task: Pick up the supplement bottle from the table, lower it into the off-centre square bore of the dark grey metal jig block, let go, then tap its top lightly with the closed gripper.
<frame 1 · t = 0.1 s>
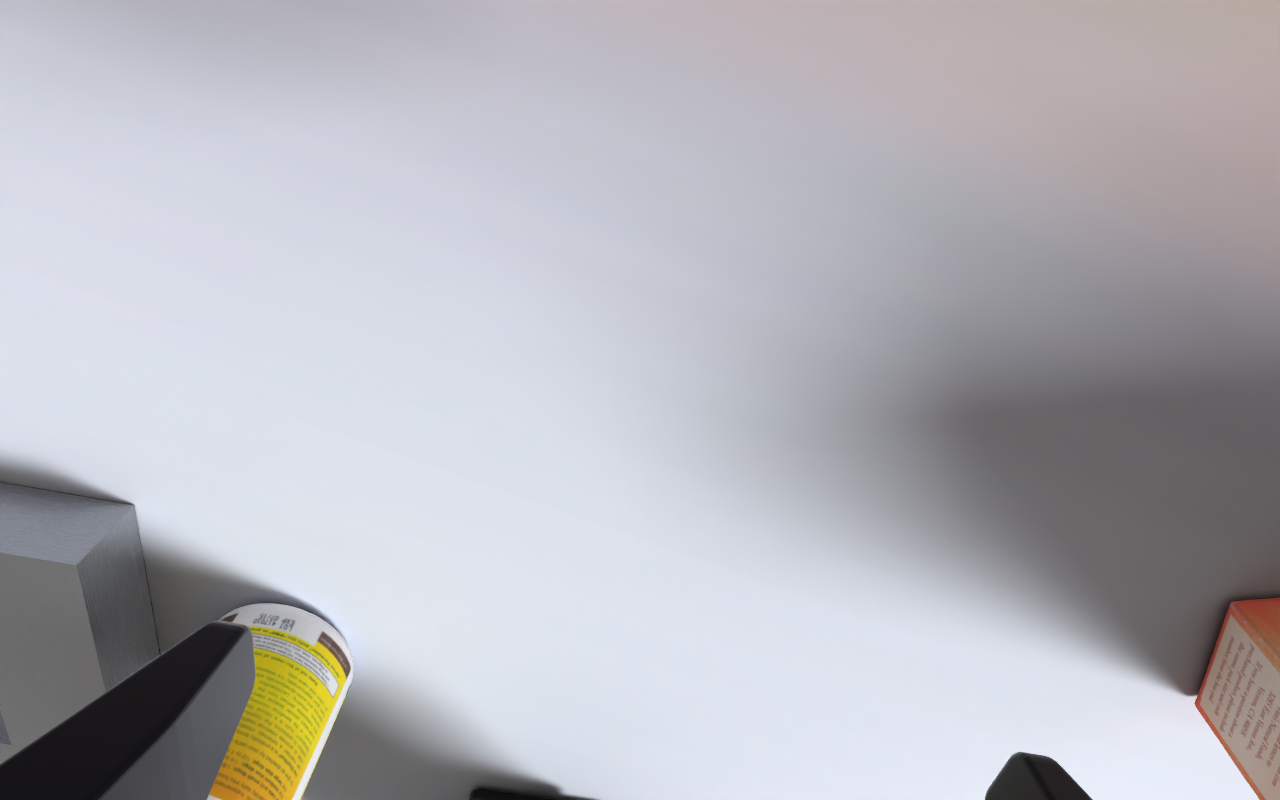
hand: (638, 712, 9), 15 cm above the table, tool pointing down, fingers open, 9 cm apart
supplement bottle: (289, 643, 30), on the table
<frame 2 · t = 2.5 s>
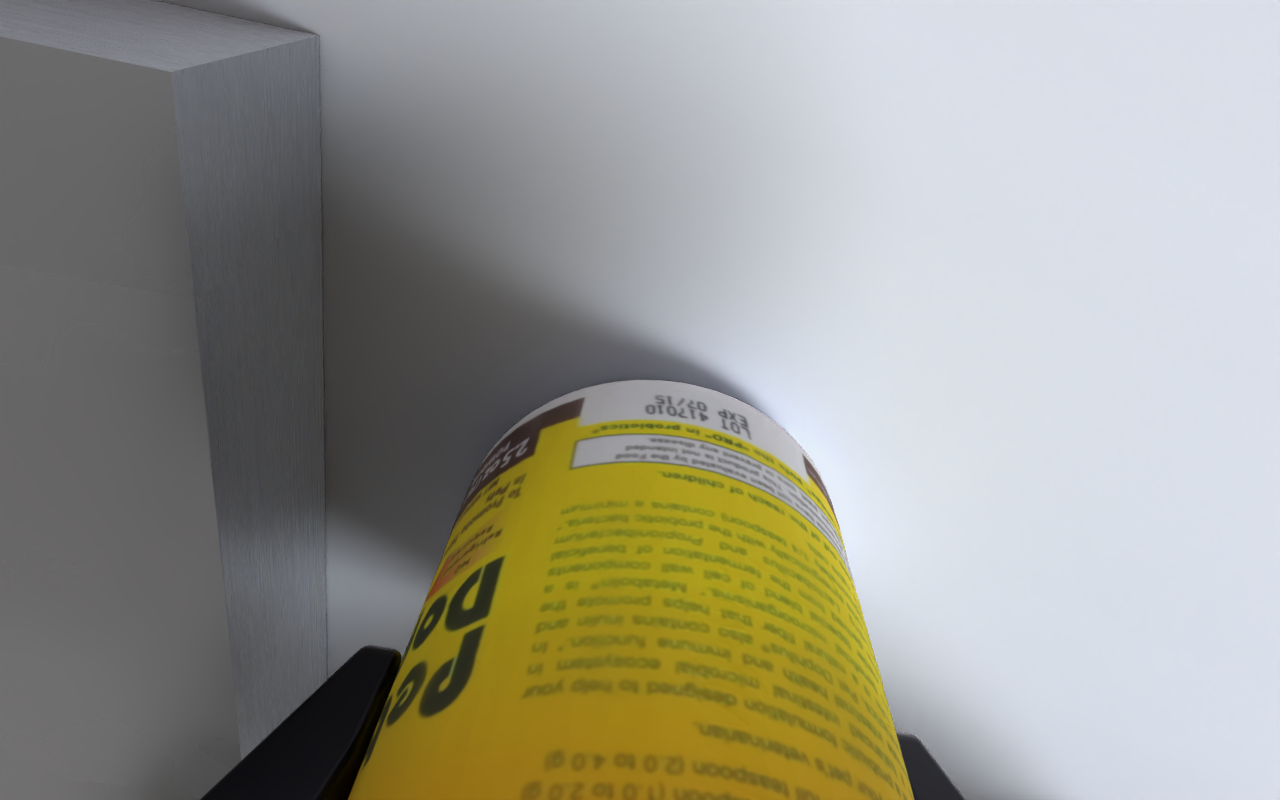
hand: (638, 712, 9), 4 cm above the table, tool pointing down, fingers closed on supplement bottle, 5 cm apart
supplement bottle: (648, 512, 12), on the table, touching gripper
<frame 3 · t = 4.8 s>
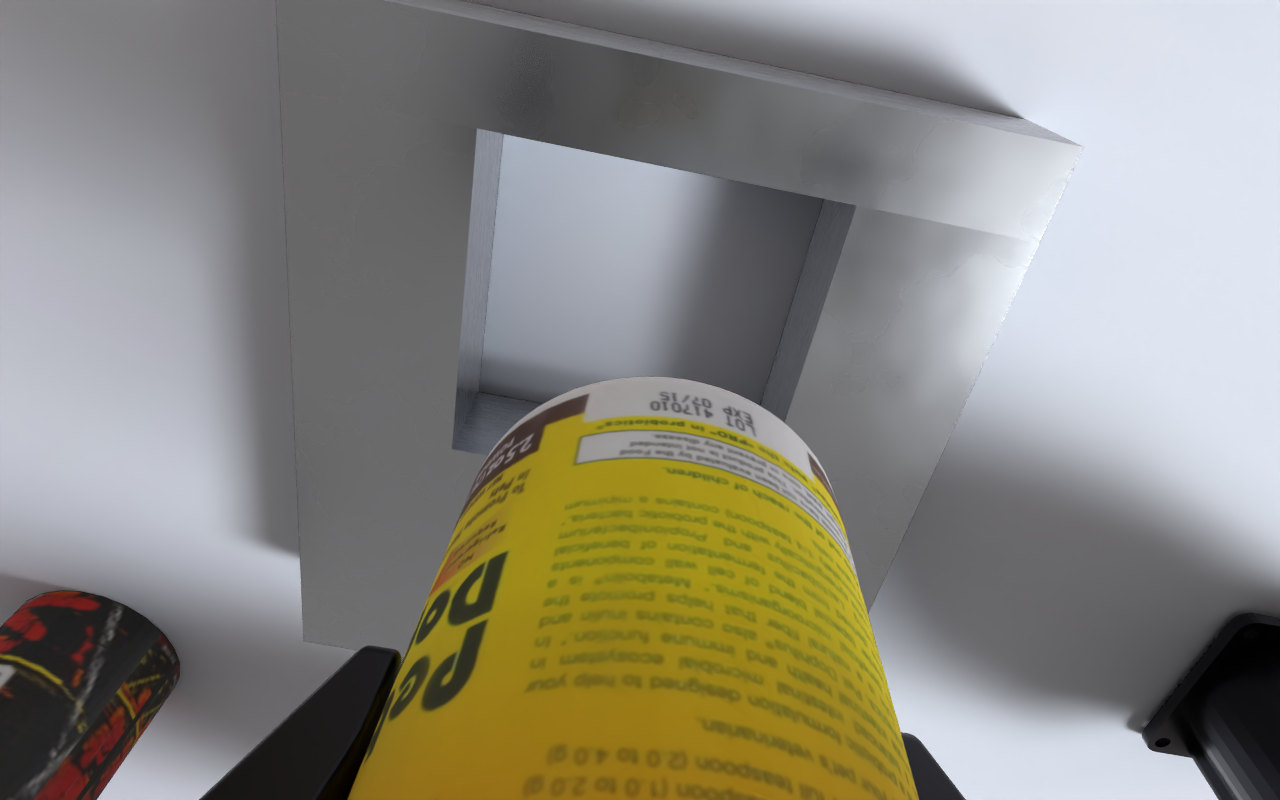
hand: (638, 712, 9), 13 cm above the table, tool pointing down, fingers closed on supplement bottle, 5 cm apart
supplement bottle: (652, 509, 12), point 10 cm above the table, touching gripper
deodorant: (101, 646, 29), on the table
jig block: (620, 387, 22), on the table
when the fingers open (4 cm above the table, at t = 7.3 s): supplement bottle stays where it is, resting in jig block.
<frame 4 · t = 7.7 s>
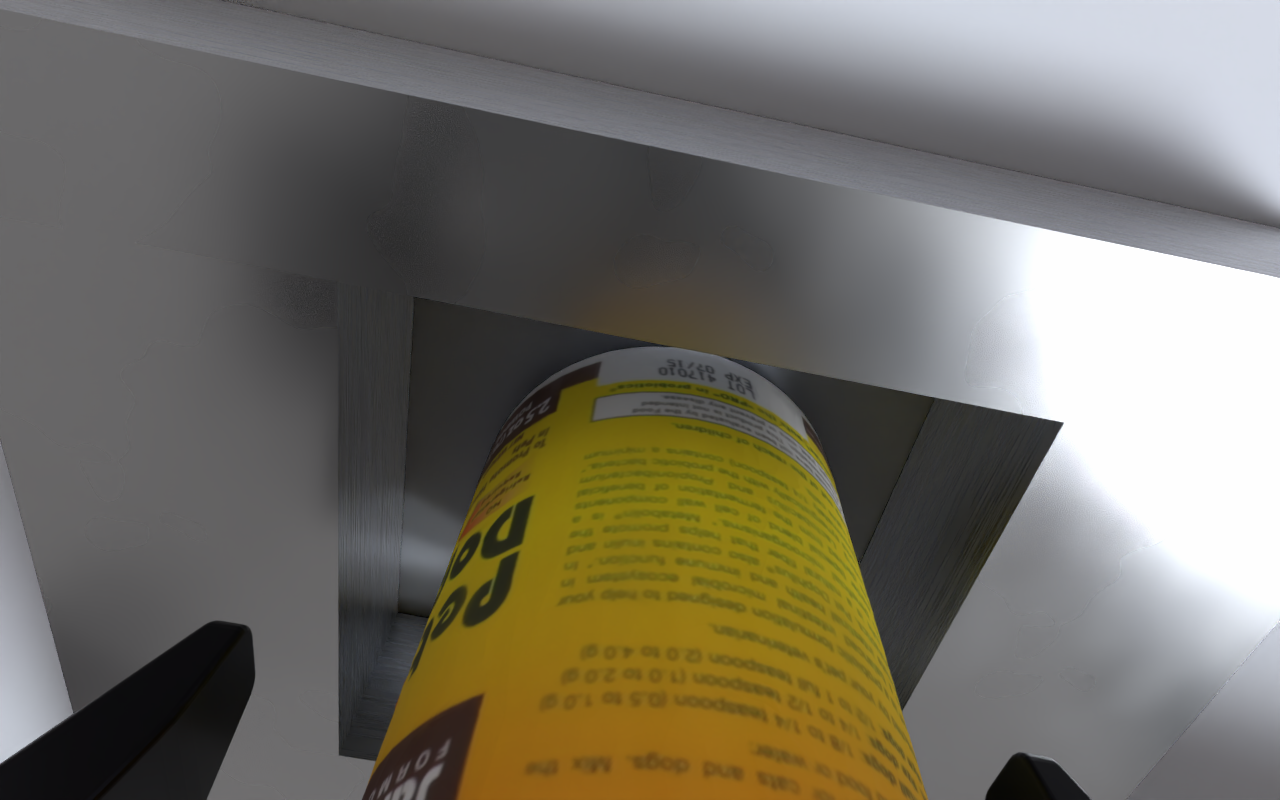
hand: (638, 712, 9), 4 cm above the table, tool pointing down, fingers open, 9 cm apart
supplement bottle: (656, 474, 13), resting in jig block
jig block: (615, 610, 14), on the table
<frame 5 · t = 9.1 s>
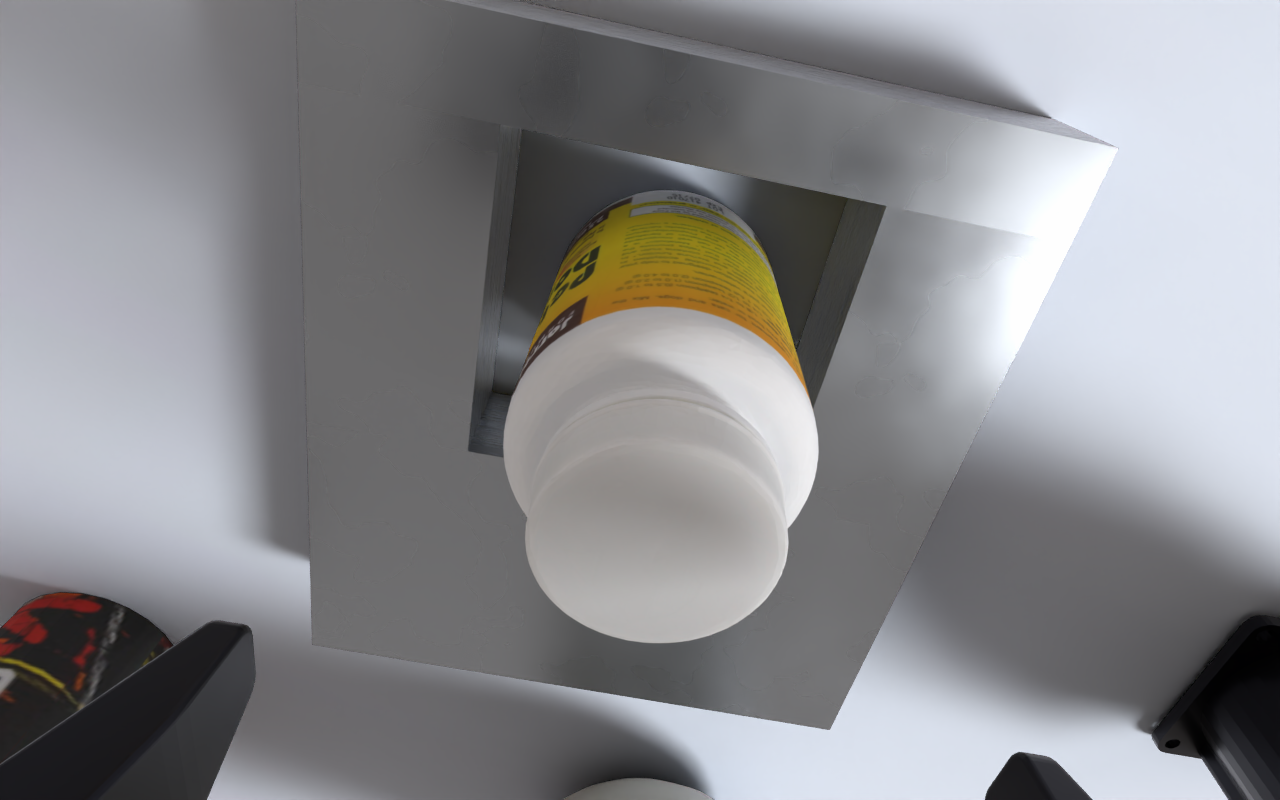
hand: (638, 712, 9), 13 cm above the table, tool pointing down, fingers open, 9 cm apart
supplement bottle: (665, 287, 20), resting in jig block
deodorant: (102, 648, 28), on the table
jig block: (637, 388, 22), on the table
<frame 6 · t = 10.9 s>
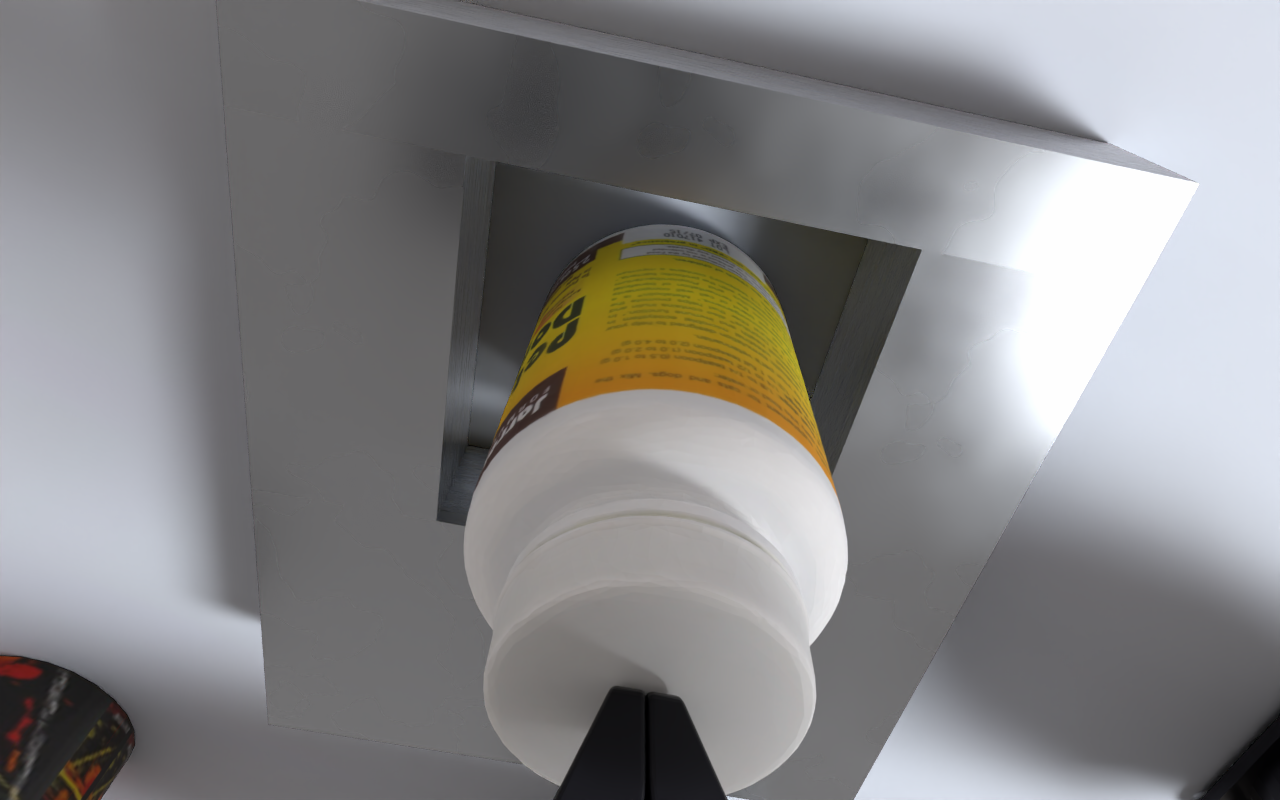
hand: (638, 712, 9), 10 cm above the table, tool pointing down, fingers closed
supplement bottle: (661, 330, 18), resting in jig block
deodorant: (47, 713, 26), on the table
jig block: (630, 441, 19), on the table
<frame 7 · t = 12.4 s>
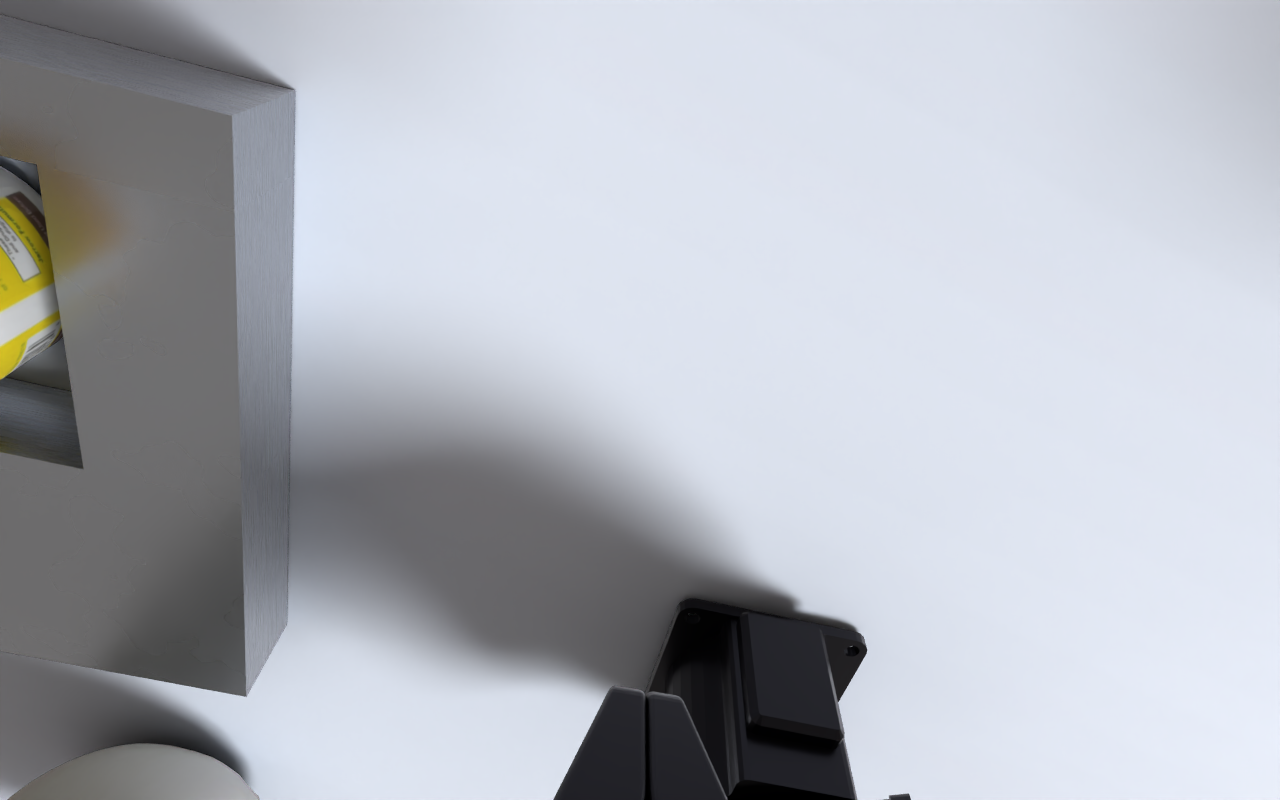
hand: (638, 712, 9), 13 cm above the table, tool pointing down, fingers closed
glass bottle: (187, 768, 32), on the table
jig block: (0, 347, 22), on the table
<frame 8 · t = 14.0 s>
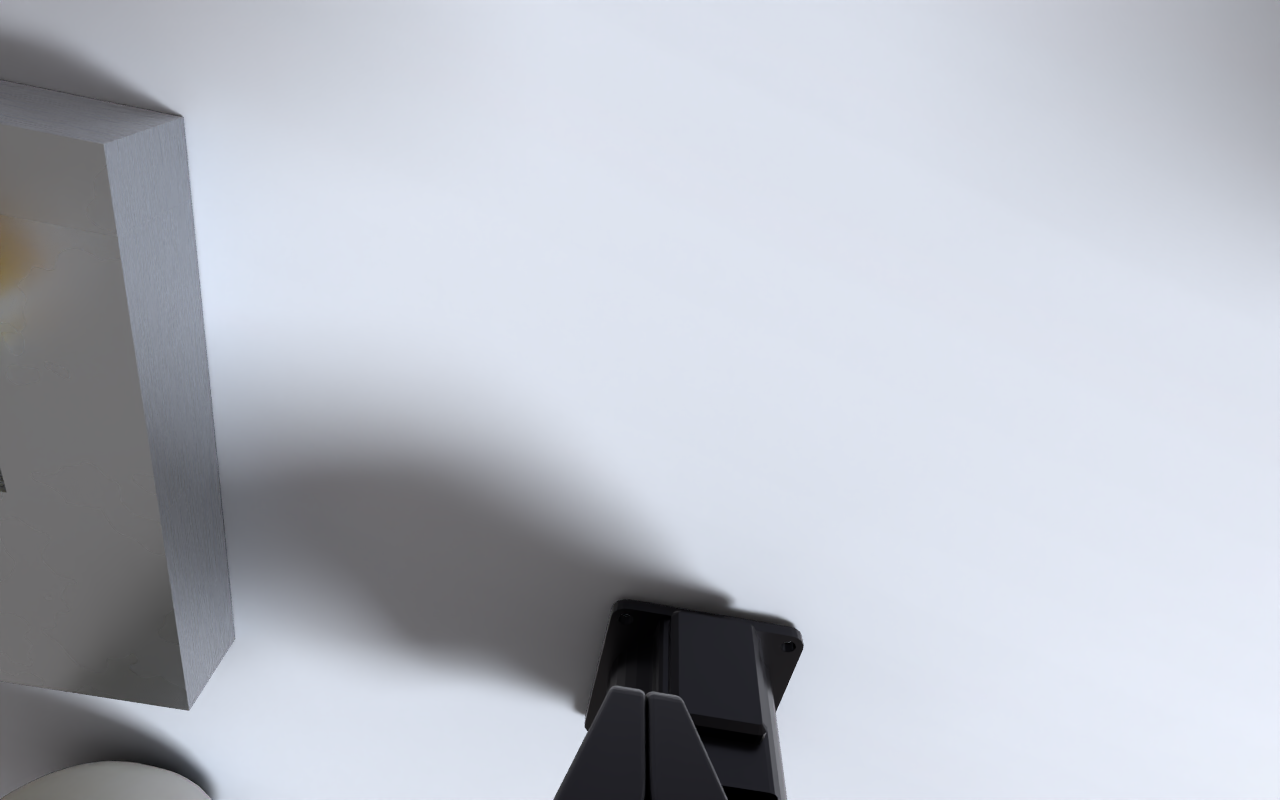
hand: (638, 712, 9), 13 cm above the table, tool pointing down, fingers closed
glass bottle: (156, 785, 32), on the table
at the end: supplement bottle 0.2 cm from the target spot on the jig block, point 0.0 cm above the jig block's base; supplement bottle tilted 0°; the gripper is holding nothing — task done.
